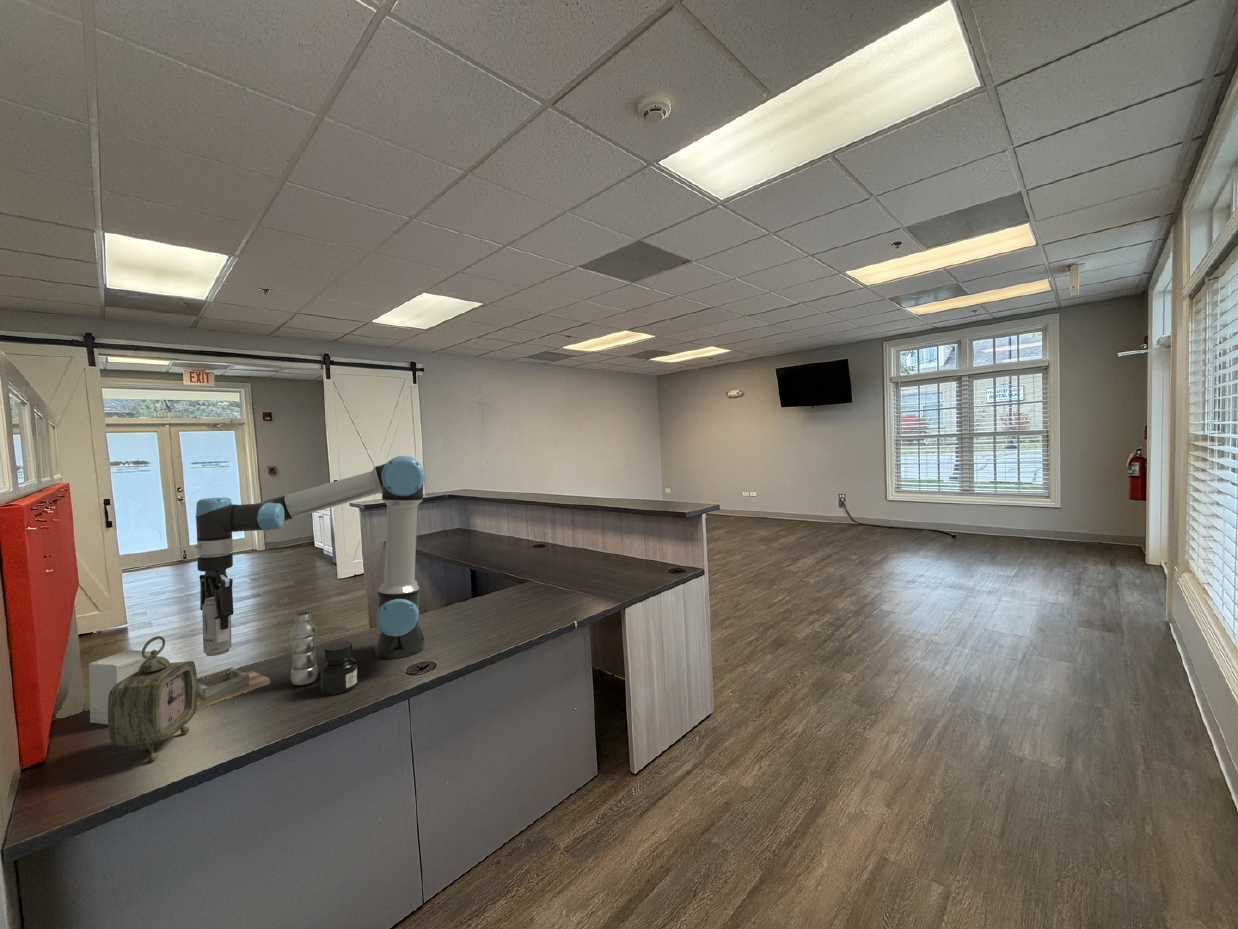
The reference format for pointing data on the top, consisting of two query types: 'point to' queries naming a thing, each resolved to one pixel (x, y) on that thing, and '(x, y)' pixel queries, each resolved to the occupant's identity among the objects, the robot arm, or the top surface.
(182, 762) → the top surface
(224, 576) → the robot arm
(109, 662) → the supplement box
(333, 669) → the ink bottle
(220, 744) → the top surface
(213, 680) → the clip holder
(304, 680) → the plastic bottle
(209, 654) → the energy drink can
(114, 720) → the tabletop clock
